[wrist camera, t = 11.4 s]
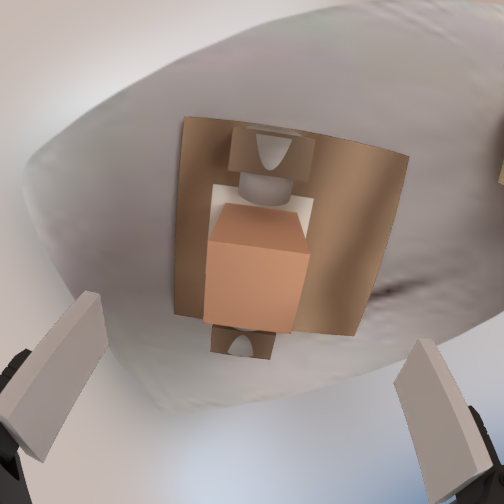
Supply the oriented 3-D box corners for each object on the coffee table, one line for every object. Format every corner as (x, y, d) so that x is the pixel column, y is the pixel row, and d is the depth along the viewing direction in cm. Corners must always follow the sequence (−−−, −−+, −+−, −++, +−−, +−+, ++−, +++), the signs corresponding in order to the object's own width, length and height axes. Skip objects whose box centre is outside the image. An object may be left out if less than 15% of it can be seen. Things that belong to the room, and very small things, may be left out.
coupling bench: (401, 153, 20) (440, 167, 15) (350, 326, 27) (366, 371, 22) (189, 116, 20) (163, 116, 15) (178, 304, 27) (159, 348, 21)
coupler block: (225, 202, 21) (208, 240, 15) (296, 212, 21) (310, 254, 15) (219, 266, 23) (203, 322, 17) (284, 275, 23) (291, 333, 17)
